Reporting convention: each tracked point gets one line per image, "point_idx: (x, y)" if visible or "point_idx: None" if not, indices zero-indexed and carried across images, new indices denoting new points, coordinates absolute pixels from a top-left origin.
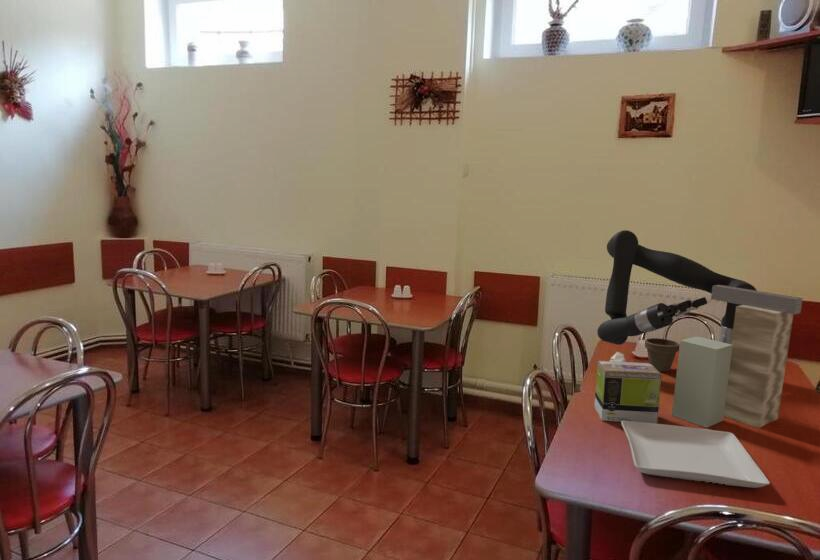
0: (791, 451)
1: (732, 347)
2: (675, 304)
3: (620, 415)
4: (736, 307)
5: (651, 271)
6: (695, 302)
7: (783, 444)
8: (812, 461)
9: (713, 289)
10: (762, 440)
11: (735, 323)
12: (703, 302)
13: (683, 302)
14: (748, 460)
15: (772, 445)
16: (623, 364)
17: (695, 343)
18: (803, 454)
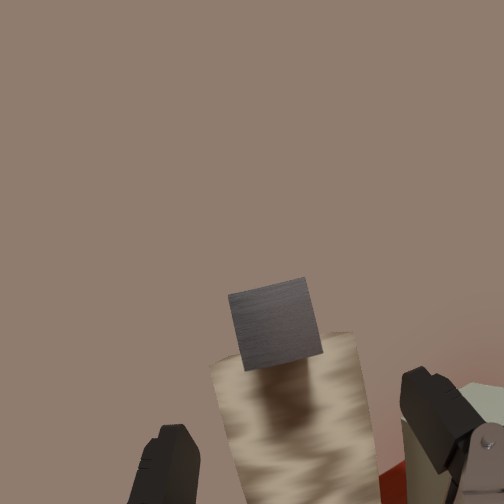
0: (394, 481)
1: (402, 424)
2: (502, 426)
3: None
4: (353, 334)
5: None
6: (176, 501)
7: (384, 494)
8: (393, 467)
9: (309, 297)
10: (405, 499)
11: (362, 385)
12: (193, 459)
13: (446, 399)
14: None
15: (404, 490)
16: None
17: (502, 391)
18: (386, 477)
